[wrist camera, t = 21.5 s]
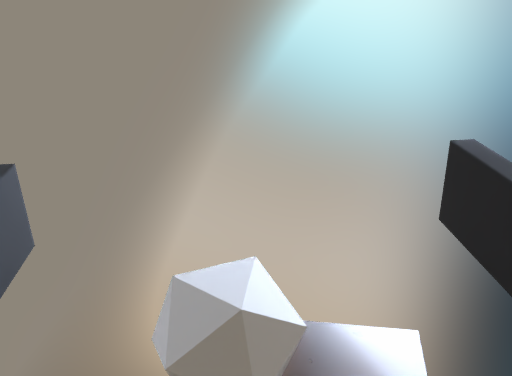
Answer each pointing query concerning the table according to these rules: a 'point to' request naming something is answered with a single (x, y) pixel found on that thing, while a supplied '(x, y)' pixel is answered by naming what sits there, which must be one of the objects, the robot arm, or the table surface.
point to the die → (227, 323)
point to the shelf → (356, 351)
